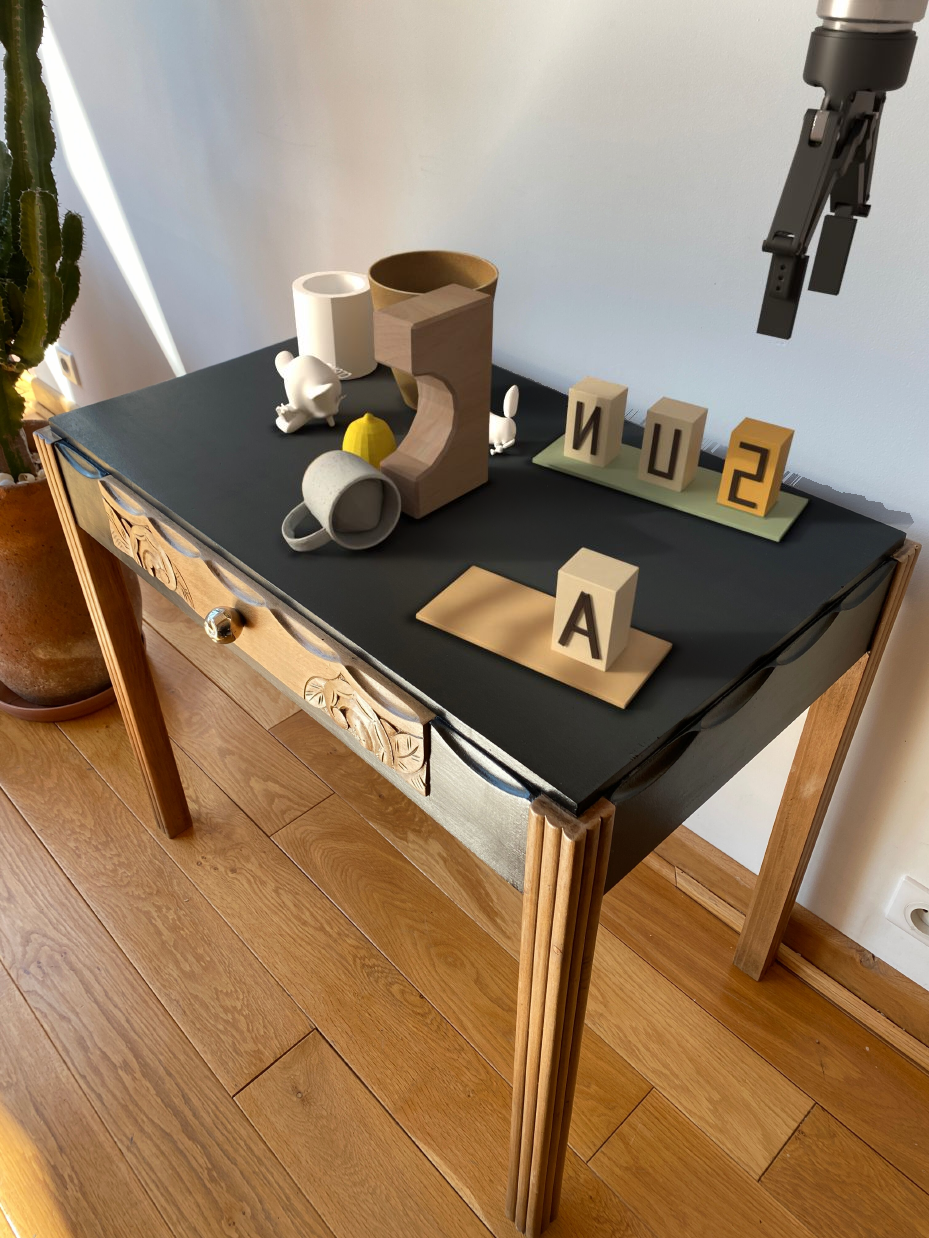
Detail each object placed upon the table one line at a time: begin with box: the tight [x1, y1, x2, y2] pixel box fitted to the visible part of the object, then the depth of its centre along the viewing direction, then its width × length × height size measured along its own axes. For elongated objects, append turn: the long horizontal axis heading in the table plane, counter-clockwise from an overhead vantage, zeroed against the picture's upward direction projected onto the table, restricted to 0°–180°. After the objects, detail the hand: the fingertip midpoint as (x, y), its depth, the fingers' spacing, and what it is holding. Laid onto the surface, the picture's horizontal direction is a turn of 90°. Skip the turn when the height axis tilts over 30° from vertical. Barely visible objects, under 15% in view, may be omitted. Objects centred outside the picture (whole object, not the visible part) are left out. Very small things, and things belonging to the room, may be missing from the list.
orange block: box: [717, 416, 796, 517], centre depth 93 cm, size 5×4×8 cm
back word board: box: [532, 432, 809, 543], centre depth 99 cm, size 28×9×1 cm, turn 56°
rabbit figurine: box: [489, 384, 520, 456], centre depth 105 cm, size 6×4×8 cm
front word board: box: [415, 565, 673, 710], centre depth 79 cm, size 20×9×1 cm, turn 56°
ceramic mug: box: [281, 449, 402, 552], centre depth 88 cm, size 11×8×8 cm
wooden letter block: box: [564, 375, 629, 468], centre depth 100 cm, size 5×4×8 cm
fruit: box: [342, 411, 397, 471], centre depth 96 cm, size 6×6×8 cm
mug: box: [291, 270, 378, 381], centre depth 121 cm, size 14×10×11 cm
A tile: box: [551, 547, 640, 672], centre depth 74 cm, size 5×4×8 cm
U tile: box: [637, 396, 709, 492], centre depth 97 cm, size 5×4×8 cm
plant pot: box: [366, 249, 500, 411], centre depth 110 cm, size 15×15×16 cm
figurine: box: [274, 350, 351, 434], centre depth 107 cm, size 12×8×10 cm
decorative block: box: [373, 284, 495, 520], centre depth 91 cm, size 11×6×20 cm, turn 136°
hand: (799, 313), depth 81 cm, fingers open, 13 cm apart
